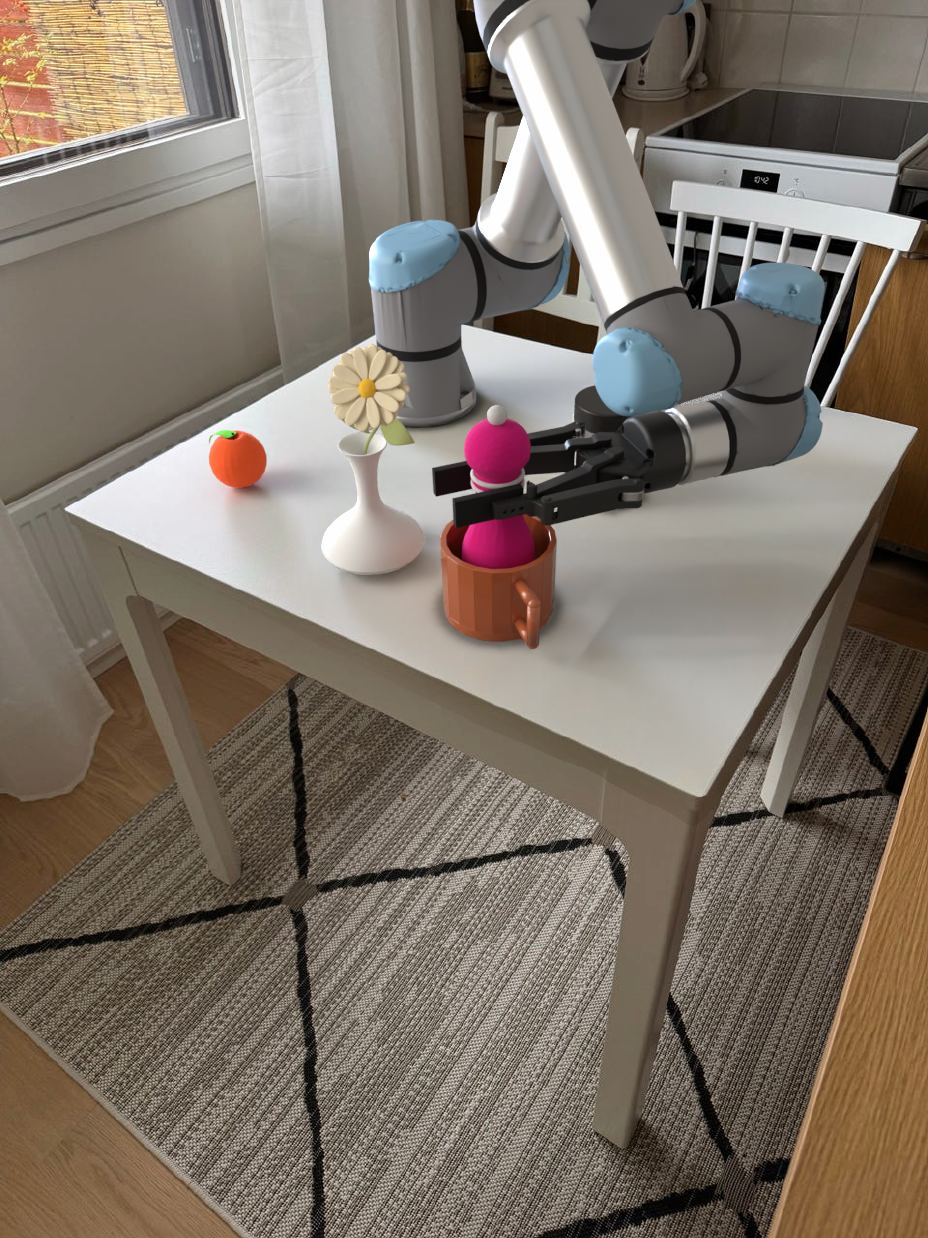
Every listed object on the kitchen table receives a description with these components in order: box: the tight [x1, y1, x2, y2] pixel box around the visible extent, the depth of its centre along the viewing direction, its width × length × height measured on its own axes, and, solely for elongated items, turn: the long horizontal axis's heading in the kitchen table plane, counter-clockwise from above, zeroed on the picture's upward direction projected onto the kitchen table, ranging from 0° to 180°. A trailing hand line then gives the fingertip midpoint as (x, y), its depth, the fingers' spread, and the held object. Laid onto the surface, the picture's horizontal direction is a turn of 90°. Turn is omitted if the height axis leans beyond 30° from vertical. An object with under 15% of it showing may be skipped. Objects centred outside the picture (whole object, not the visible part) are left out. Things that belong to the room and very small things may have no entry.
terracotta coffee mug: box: [439, 514, 558, 650], centre depth 89 cm, size 15×11×8 cm
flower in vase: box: [321, 343, 426, 576], centre depth 92 cm, size 13×11×25 cm
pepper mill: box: [462, 404, 535, 569], centre depth 85 cm, size 7×7×20 cm
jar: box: [571, 384, 632, 465], centre depth 106 cm, size 9×8×12 cm
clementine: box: [208, 429, 268, 489], centre depth 111 cm, size 8×7×7 cm
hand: (444, 497), depth 83 cm, fingers closed on pepper mill, 5 cm apart
